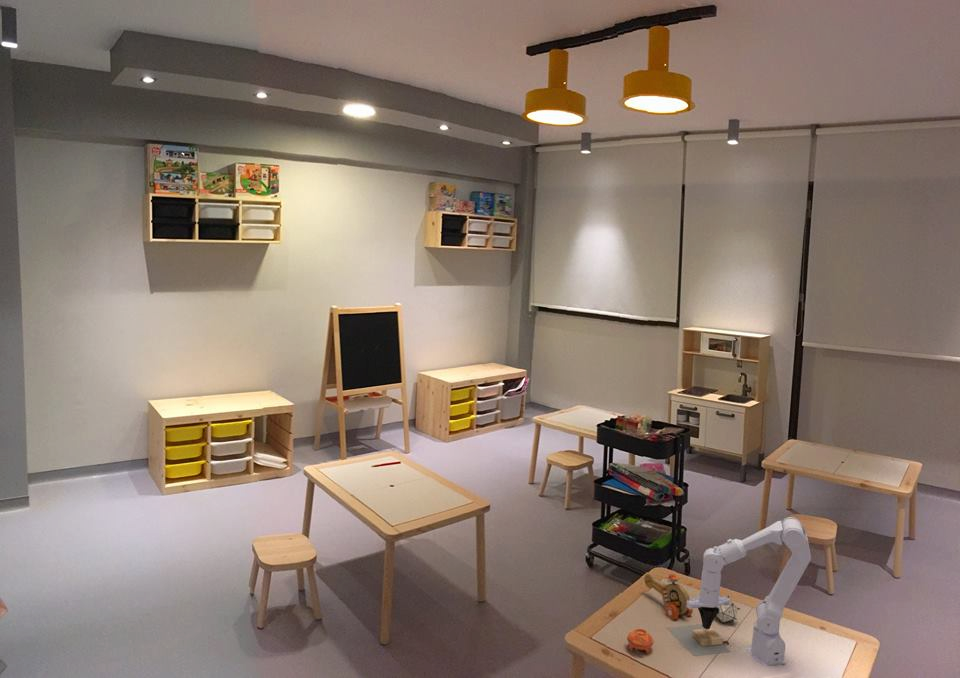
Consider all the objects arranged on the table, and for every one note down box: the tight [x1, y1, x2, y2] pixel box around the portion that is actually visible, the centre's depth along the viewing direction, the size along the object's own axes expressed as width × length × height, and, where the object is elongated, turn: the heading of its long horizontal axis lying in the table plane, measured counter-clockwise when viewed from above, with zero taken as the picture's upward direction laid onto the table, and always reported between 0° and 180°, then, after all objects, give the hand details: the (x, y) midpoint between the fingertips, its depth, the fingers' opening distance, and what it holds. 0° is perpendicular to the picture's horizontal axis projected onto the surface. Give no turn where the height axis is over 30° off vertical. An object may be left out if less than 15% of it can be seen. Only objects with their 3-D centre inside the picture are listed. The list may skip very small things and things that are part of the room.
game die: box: [716, 595, 741, 625], centre depth 234 cm, size 9×8×10 cm
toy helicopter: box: [643, 573, 694, 621], centre depth 240 cm, size 8×21×14 cm, turn 27°
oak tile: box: [692, 627, 723, 646], centre depth 221 cm, size 6×2×7 cm
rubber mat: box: [666, 623, 731, 657], centre depth 221 cm, size 16×13×1 cm
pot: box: [626, 628, 655, 654], centre depth 214 cm, size 8×8×7 cm
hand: (705, 627), depth 220 cm, fingers closed
